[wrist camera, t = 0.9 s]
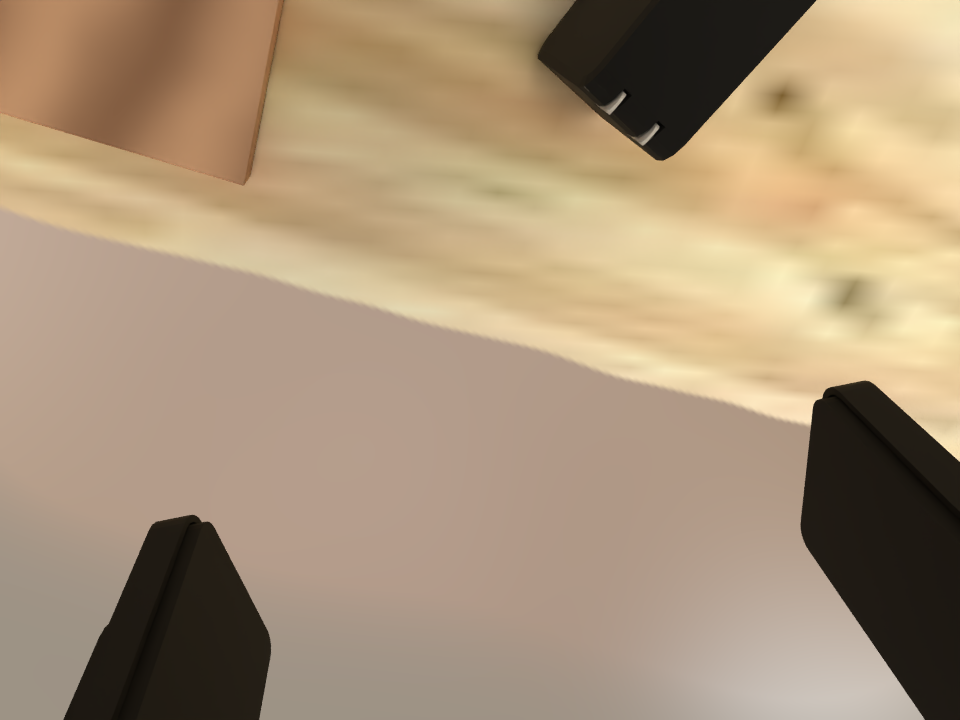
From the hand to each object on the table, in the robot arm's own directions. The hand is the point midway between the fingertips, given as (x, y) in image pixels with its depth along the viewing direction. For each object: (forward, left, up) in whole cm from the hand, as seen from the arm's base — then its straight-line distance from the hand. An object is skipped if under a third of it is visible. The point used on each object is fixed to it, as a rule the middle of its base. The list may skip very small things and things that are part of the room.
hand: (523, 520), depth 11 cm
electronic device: (+1, +11, -26) cm, 28 cm away
